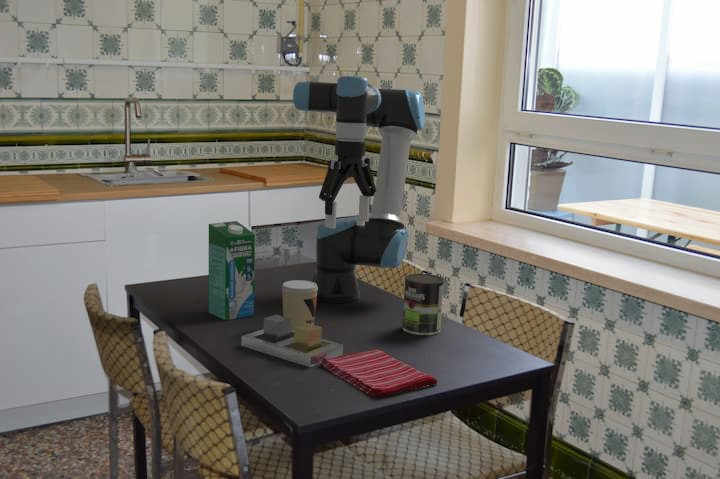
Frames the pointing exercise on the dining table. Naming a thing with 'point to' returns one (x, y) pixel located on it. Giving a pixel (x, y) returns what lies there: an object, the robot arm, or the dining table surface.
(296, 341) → the tan rectangular block
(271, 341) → the tall grey box
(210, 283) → the milk carton
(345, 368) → the dish towel
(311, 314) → the coffee cup
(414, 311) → the coffee can
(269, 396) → the dining table surface
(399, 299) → the dining table surface
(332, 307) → the dining table surface
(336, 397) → the dining table surface
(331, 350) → the grey tray
